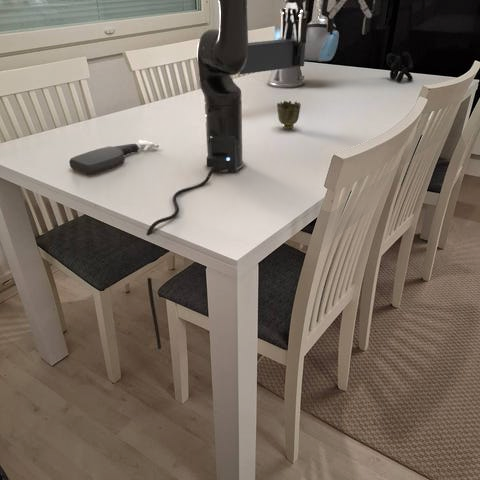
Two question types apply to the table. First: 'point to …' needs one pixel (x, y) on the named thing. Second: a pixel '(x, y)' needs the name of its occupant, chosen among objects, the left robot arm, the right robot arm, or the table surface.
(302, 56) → the bar
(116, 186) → the table surface
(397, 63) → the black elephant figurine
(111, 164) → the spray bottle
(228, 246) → the table surface
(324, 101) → the table surface
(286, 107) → the cup
